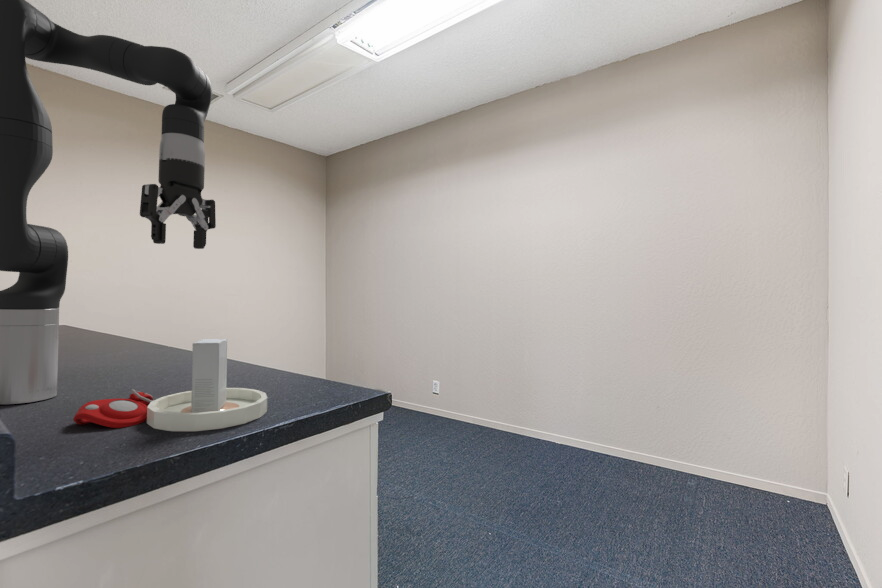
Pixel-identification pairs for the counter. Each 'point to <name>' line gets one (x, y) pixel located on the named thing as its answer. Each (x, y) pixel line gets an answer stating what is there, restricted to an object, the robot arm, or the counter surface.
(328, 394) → the counter surface
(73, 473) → the counter surface
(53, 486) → the counter surface
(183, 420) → the round dish
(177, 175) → the robot arm
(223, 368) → the skincare box
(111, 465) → the counter surface
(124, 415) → the tracker holder
